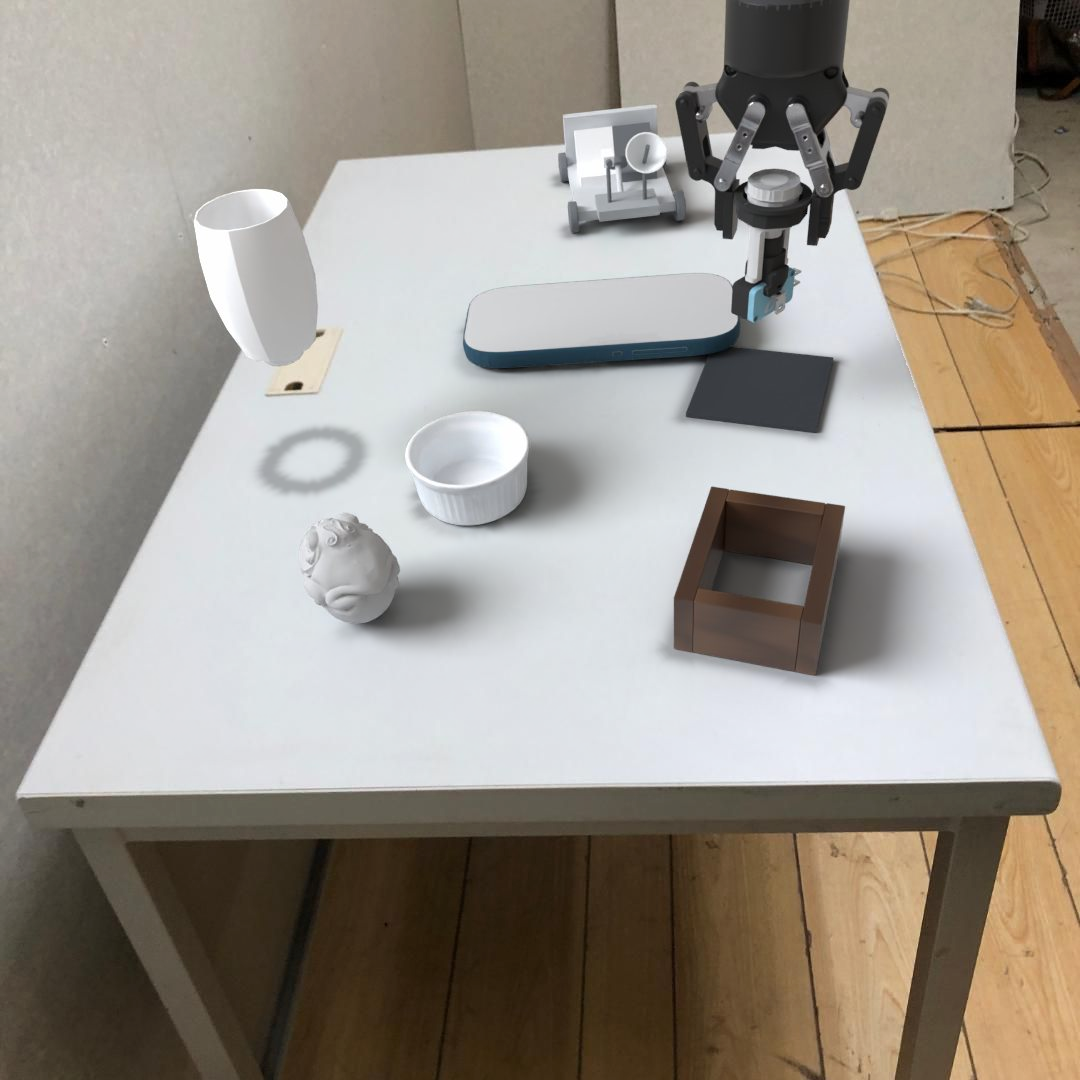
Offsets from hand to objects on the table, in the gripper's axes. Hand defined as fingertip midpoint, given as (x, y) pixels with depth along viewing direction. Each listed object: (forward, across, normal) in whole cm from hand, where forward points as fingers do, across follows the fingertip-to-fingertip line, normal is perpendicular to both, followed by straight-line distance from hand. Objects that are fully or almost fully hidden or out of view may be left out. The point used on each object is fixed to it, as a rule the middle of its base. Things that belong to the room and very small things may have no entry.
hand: (771, 236), depth 76 cm
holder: (+13, +4, -23) cm, 27 cm away
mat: (+13, 0, 0) cm, 13 cm away
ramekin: (+13, -18, -17) cm, 28 cm away
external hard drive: (+13, -15, +6) cm, 21 cm away
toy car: (+13, -20, +31) cm, 39 cm away
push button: (+6, 0, 0) cm, 6 cm away
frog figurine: (+13, -21, -30) cm, 39 cm away
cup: (+13, -32, -16) cm, 38 cm away
